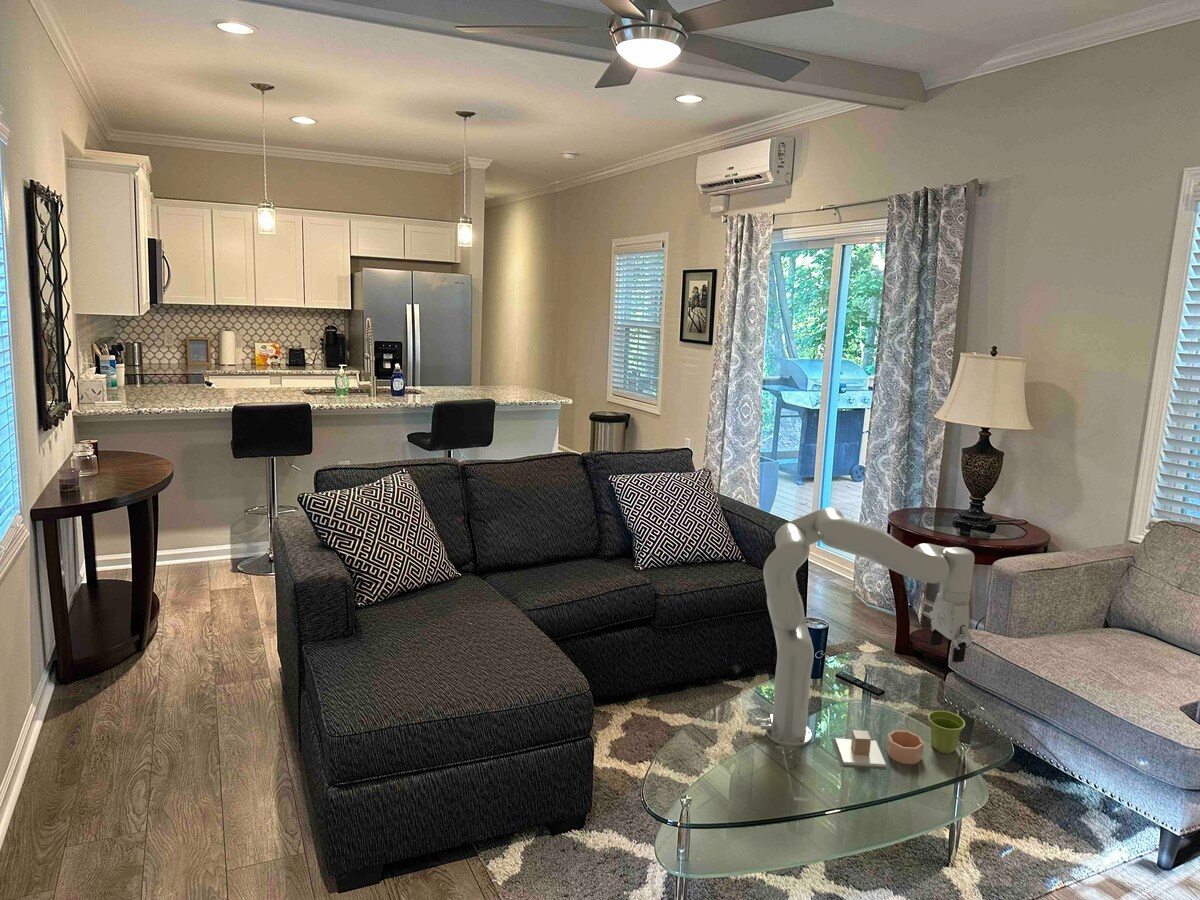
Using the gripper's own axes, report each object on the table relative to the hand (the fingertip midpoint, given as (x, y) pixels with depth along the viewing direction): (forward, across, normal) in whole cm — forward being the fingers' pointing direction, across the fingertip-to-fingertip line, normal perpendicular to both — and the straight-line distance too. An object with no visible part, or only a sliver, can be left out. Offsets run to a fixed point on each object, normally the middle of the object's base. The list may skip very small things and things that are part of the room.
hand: (946, 653), depth 227 cm
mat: (+28, 0, -23) cm, 36 cm away
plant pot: (+28, +1, +2) cm, 29 cm away
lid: (+28, 0, -23) cm, 36 cm away
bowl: (+28, +2, -11) cm, 30 cm away
